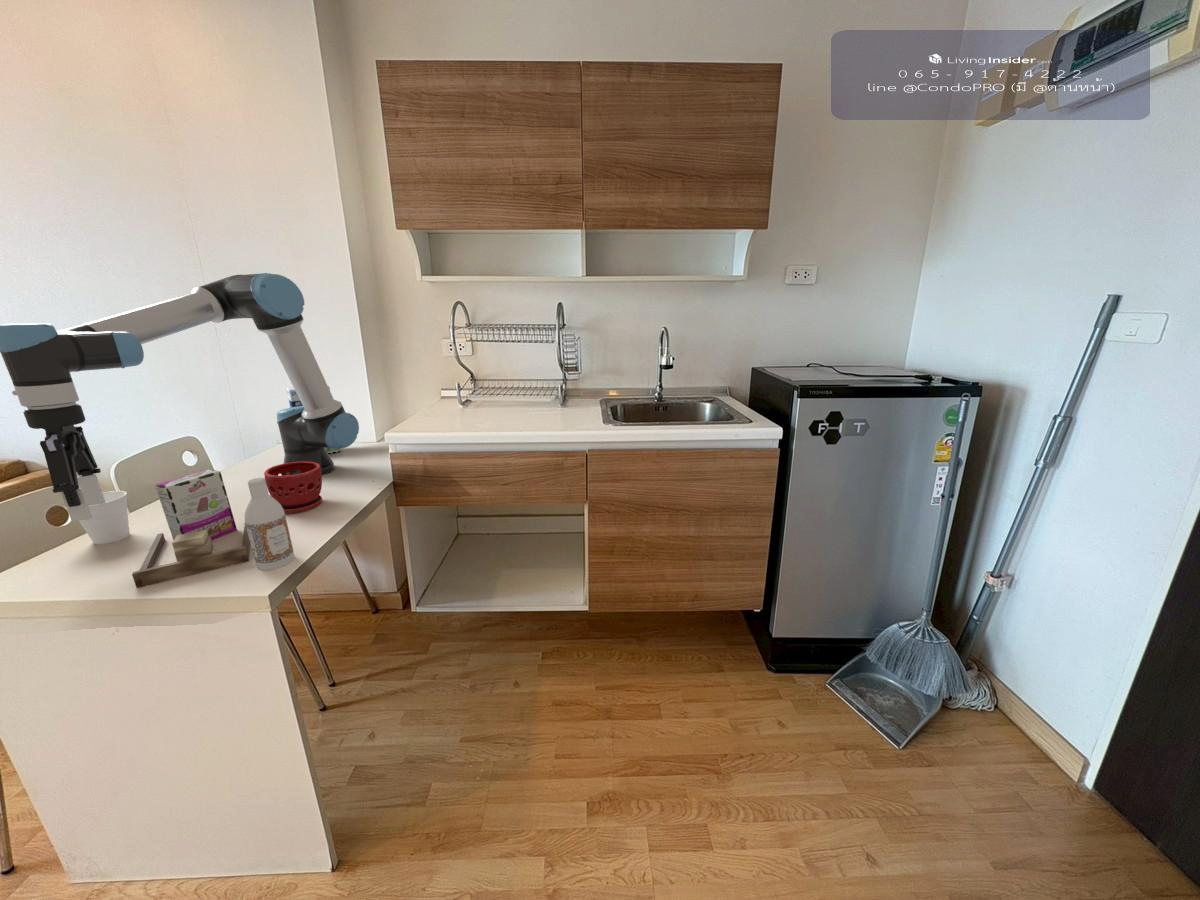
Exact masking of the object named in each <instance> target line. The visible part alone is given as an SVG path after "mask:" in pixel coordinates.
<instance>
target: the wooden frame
mask: <svg viewBox="0 0 1200 900" xmlns="http://www.w3.org/2000/svg"><path fill="white" fill-rule="evenodd" d="M243 528H244V529H243V533H242V534H243V537H242V544H241V546H240V547H236V548H232V549H228V550H227V549H226V550H222V551H218V552H217V553H213V554H209V555H205V556H200V557H196V558H192V559H187V560H183V561H178V562H176V561H175V562H171V563H167V564H162V565H157V566H153V565H155V563H156V561H157V559H158V557H159V555H160V552H161V550H162V548H163V547H164V543H165V542H166V538H165V534H164V532H161V533H157V534H156V536H155V538H154V540H153V542H152V544H151V546H150V548H149V549H150V550H149V549H148V552H147V554H146V556H145V558H144V559H143V560H144V561H143V562H142V564H141V566H140V568H139V570H136V571H132V573H131V576H132V578H133V581H134V585H135V587H136V589H139V587H140V588H144V587H148V586H152V585H156V584H159V583H165V582H169V581H172V580H177V579H182V578H185V577H188V576H193V575H197V574H201V573H205V572H210V571H214V570H218V569H223V568H226V567H231V566H235V565H238V564H243V563H247V562H249V561H250V551H251V550H250V549H251V544H250V540H249V536H248V532H247V528H246V524H245V523H244V526H243ZM147 585H148V586H147Z"/></svg>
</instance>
